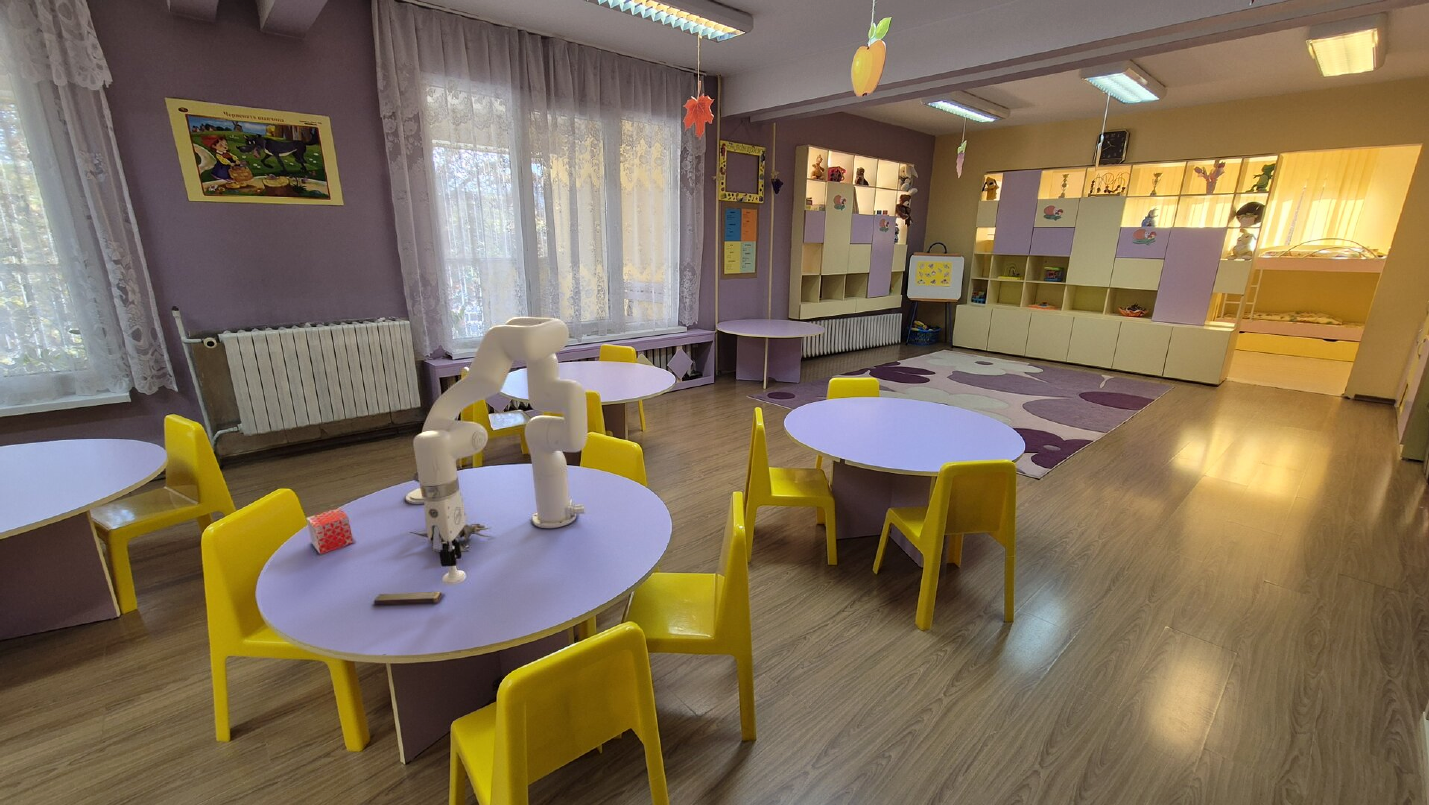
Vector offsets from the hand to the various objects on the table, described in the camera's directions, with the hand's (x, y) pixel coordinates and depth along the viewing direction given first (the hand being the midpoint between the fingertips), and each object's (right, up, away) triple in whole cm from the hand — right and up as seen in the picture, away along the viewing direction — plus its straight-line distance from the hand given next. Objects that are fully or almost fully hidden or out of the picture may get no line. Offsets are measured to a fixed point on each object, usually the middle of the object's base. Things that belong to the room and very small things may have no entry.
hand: (451, 561), depth 128 cm
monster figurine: (-34, +5, +56) cm, 66 cm away
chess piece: (0, -5, +1) cm, 5 cm away
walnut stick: (-11, -10, +2) cm, 15 cm away
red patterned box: (-45, -3, +28) cm, 53 cm away
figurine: (-11, -3, +25) cm, 28 cm away
